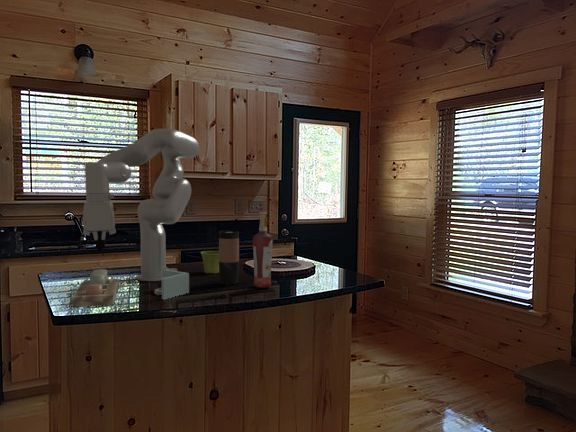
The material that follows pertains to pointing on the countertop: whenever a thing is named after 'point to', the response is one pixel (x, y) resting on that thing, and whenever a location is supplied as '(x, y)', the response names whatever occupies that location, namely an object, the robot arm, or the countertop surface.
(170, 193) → the robot arm
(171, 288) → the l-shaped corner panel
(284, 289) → the countertop surface
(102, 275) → the pale green egg
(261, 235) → the liquor
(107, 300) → the wooden rectangular frame
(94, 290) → the brown egg
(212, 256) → the plant pot
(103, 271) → the beige egg
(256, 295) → the countertop surface
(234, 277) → the travel mug
